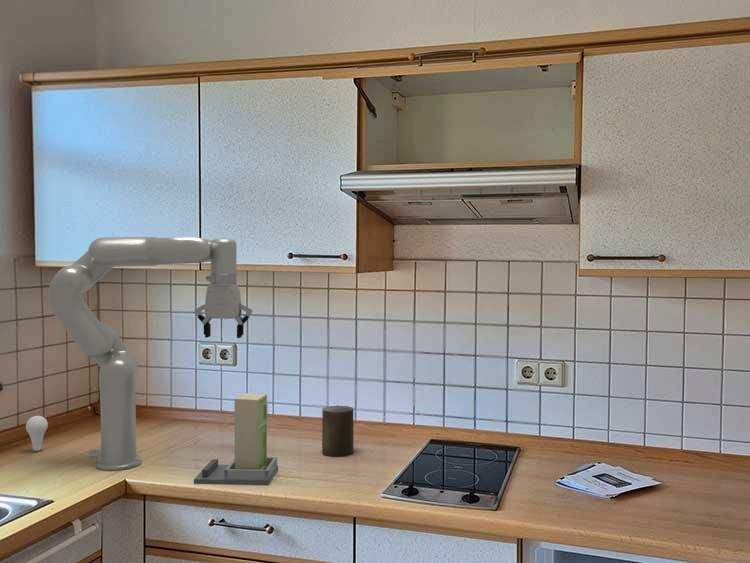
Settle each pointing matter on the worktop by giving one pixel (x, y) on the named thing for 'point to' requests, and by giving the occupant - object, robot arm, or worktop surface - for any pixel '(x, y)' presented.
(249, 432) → the beige tall block
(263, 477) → the tray
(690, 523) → the worktop surface
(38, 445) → the lightbulb
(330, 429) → the pillar candle
